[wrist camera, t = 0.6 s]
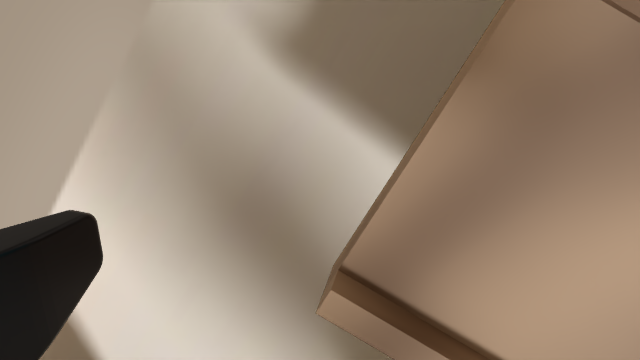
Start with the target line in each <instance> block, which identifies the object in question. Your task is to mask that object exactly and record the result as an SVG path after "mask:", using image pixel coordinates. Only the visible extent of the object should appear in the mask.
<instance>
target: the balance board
mask: <svg viewBox="0 0 640 360" xmlns="http://www.w3.org/2000/svg"><path fill="white" fill-rule="evenodd" d="M316 314H318V315H320V316H321V317H323V318H325V319H326V320H328V321H330V322H331V323H333V324H335V325H337V326H338V327H340V328H342V329H343V330H345V331H347V332H348V333H350V334H352V335H354V336H355V337H357V338H359V339H360V340H362V341H364V342H365V343H367V344H369V345H371V346H372V347H374V348H376V349H377V350H379V351H381V352H382V353H384V354H386V355H388V356H389V357H391V358H393V359H394V360H640V0H505V1H504V3H503V5H502V6H501V8H500V9H499V11H498V12H497V14H496V15H495V17H494V18H493V20H492V21H491V23H490V25H489V26H488V28H487V29H486V31H485V32H484V34H483V35H482V37H481V38H480V40H479V42H478V43H477V45H476V46H475V48H474V49H473V51H472V52H471V54H470V55H469V57H468V58H467V60H466V62H465V63H464V65H463V66H462V68H461V69H460V71H459V72H458V74H457V75H456V77H455V79H454V80H453V82H452V83H451V85H450V86H449V88H448V89H447V91H446V92H445V94H444V96H443V97H442V99H441V100H440V102H439V103H438V105H437V106H436V108H435V109H434V111H433V112H432V114H431V116H430V117H429V119H428V120H427V122H426V123H425V125H424V126H423V128H422V129H421V131H420V133H419V134H418V136H417V137H416V139H415V140H414V142H413V143H412V145H411V146H410V148H409V149H408V151H407V153H406V154H405V156H404V157H403V159H402V160H401V162H400V163H399V165H398V166H397V168H396V170H395V171H394V173H393V174H392V176H391V177H390V179H389V180H388V182H387V183H386V185H385V186H384V188H383V190H382V191H381V193H380V194H379V196H378V197H377V199H376V200H375V202H374V203H373V205H372V207H371V208H370V210H369V211H368V213H367V214H366V216H365V217H364V219H363V220H362V222H361V224H360V225H359V227H358V228H357V230H356V231H355V233H354V234H353V236H352V237H351V239H350V240H349V242H348V244H347V245H346V247H345V248H344V250H343V251H342V253H341V254H340V256H339V257H338V259H337V261H336V262H335V264H334V265H333V268H332V270H331V273H330V276H329V279H328V281H327V284H326V287H325V289H324V292H323V295H322V297H321V300H320V303H319V306H318V308H317V311H316Z"/></svg>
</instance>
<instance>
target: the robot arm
mask: <svg viewBox="0 0 640 360" xmlns="http://www.w3.org/2000/svg"><path fill="white" fill-rule="evenodd" d="M102 261H103V252H102V246H101V241H100V235H99V230H98V224H97V220H96V219H95V217H94V216H93V215H92V214H90V213H85V212H79V211H74V210H68V211H64V212H60V213H57V214H53V215H50V216H46V217H42V218H39V219H35V220H32V221H28V222H25V223H21V224H17V225H14V226H10V227H7V228H3V229H0V360H39V359H40V358H41V356H42V355H43V354H44V353H45V351H46V350H47V349H48V347H49V346H50V345H51V343H52V342H53V340H54V339H55V338H56V336H57V335H58V333H59V332H60V330H61V329H62V327H63V326H64V324H65V323H66V321H67V319H68V318H69V316H70V315H71V313H72V312H73V310H74V309H75V307H76V306H77V304H78V302H79V301H80V299H81V298H82V296H83V295H84V293H85V292H86V290H87V289H88V287H89V285H90V284H91V282H92V281H93V279H94V278H95V276H96V275H97V273H98V272H99V270H100V268H101V265H102Z"/></svg>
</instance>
